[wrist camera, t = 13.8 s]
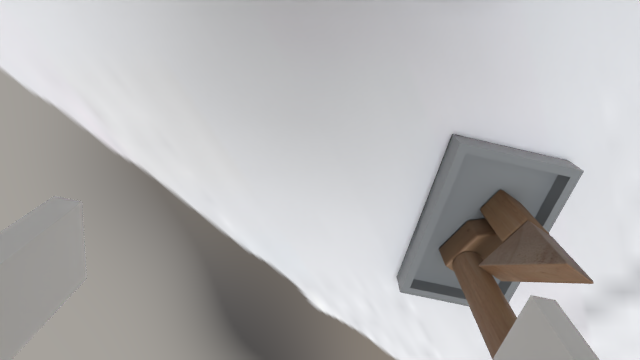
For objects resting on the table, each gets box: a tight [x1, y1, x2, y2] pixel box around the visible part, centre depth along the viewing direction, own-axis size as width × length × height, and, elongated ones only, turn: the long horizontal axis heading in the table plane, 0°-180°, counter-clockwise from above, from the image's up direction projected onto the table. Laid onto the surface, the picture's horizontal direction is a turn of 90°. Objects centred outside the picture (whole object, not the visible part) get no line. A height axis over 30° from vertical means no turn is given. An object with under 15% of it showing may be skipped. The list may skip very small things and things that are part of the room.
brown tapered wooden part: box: [439, 190, 593, 359], centre depth 38 cm, size 4×11×18 cm, turn 145°
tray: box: [397, 134, 584, 306], centre depth 46 cm, size 21×14×3 cm, turn 167°
